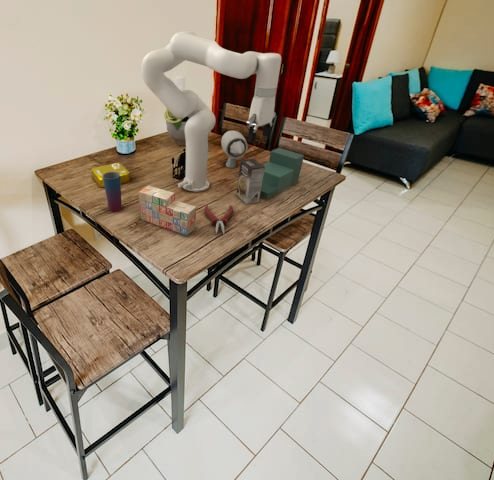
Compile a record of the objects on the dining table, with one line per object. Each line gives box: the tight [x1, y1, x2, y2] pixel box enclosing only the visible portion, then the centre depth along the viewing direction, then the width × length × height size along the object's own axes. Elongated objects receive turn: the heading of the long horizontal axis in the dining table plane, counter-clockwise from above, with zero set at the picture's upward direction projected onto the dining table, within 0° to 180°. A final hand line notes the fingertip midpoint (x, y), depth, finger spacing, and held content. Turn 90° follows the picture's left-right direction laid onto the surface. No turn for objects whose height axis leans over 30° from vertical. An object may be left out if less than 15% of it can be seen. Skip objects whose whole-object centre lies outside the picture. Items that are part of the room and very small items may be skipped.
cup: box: [103, 171, 123, 213], centre depth 134 cm, size 7×7×15 cm
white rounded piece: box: [220, 130, 249, 169], centre depth 165 cm, size 15×20×18 cm
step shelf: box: [260, 147, 305, 201], centre depth 150 cm, size 25×13×13 cm, turn 132°
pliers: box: [203, 204, 234, 236], centre depth 128 cm, size 12×20×3 cm, turn 175°
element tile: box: [91, 162, 131, 188], centre depth 160 cm, size 15×15×5 cm
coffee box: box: [236, 158, 265, 205], centre depth 139 cm, size 9×6×16 cm
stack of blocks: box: [138, 185, 197, 236], centre depth 125 cm, size 21×6×12 cm, turn 56°
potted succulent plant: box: [163, 108, 189, 146], centre depth 193 cm, size 25×25×24 cm
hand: (258, 139), depth 131 cm, fingers open, 9 cm apart
